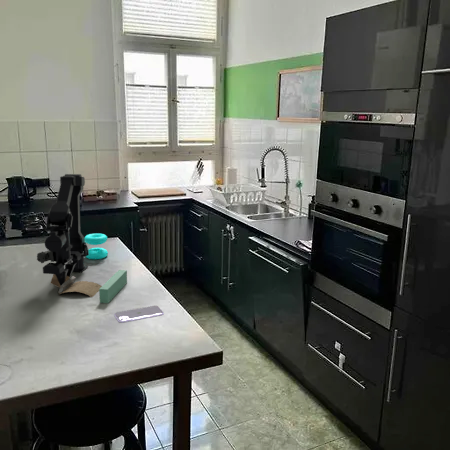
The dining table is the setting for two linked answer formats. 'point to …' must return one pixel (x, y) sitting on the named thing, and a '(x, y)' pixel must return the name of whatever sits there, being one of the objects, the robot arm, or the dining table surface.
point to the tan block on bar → (64, 285)
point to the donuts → (96, 240)
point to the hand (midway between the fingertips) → (64, 284)
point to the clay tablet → (84, 288)
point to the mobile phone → (138, 314)
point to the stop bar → (113, 286)
